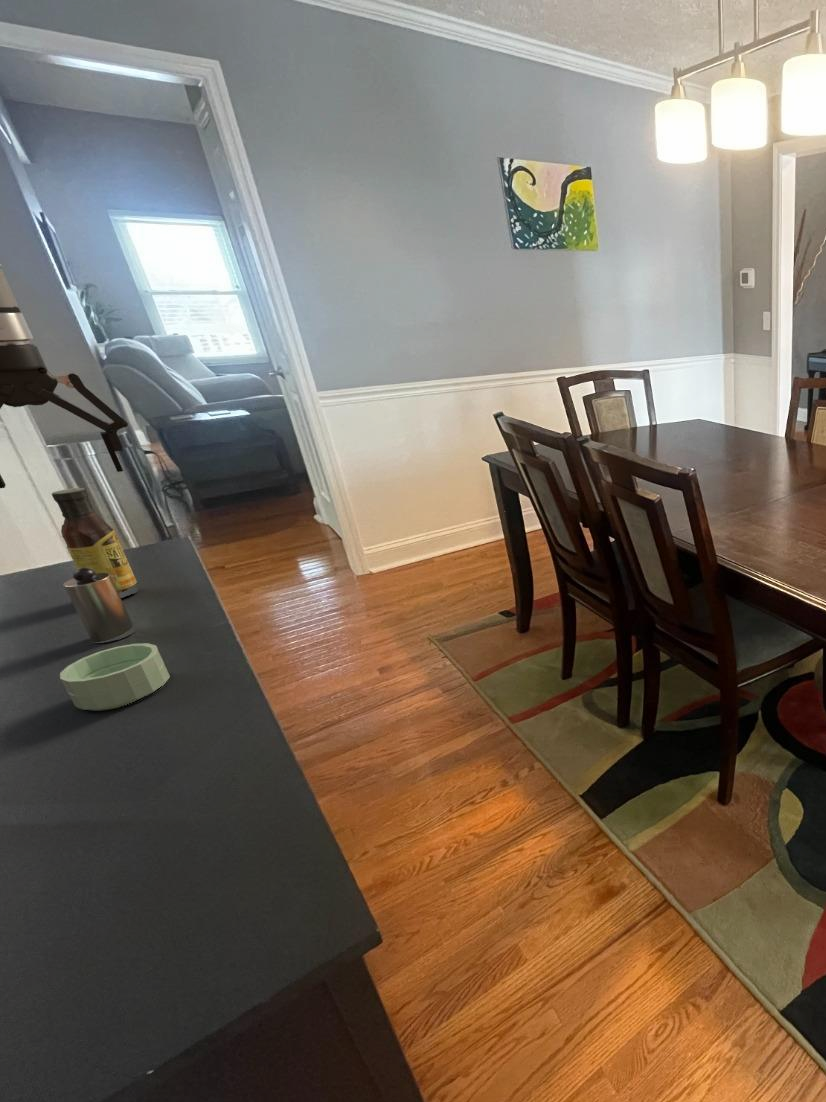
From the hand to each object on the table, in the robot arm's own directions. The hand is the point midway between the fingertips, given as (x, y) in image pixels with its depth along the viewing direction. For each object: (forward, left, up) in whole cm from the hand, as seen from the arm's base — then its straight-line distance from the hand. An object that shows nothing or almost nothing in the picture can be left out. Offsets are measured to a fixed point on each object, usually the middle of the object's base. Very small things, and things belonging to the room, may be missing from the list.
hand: (63, 478), depth 100 cm
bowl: (+29, -31, -22) cm, 48 cm away
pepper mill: (+13, -15, -22) cm, 30 cm away
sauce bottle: (0, 0, -22) cm, 22 cm away
